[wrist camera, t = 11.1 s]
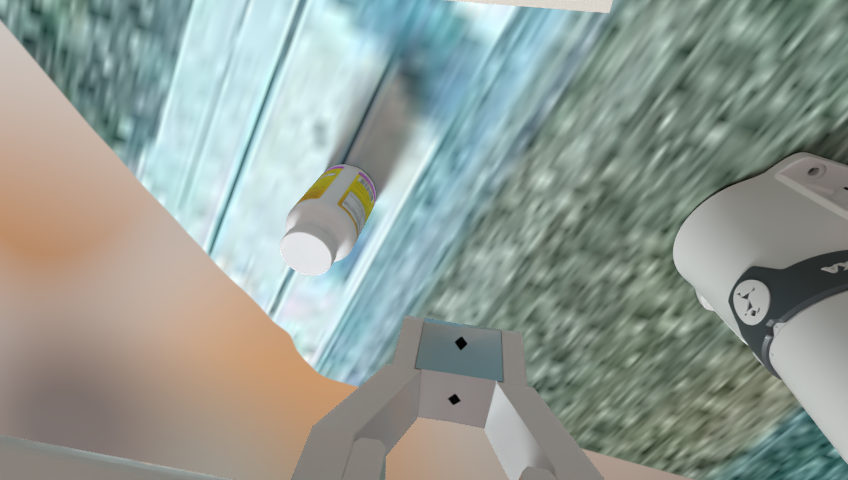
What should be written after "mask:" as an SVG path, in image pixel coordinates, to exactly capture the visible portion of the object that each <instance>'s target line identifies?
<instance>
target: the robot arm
mask: <svg viewBox="0 0 848 480" xmlns="http://www.w3.org/2000/svg"><path fill="white" fill-rule="evenodd" d="M812 168H813V170H812V171H811V172H809V173H808V171H809V170H810V169H812ZM673 258H674V263H675V266H676V268H677V270H678V271H679V273H680V274H681V275H682V276H683V277H684V278H685V279H686V280H687V281H688V282H689V283H690V284H691V285H692V286H693V287H694V288H695V290H696V294H697V297H698V300H699V302H700V303H701V304H702V305H703V306H704V307H705V308H706V309H708V310H712V311H715V312H716V313H717V314H718V315H719V316H720V317H721V318H722V319H723V320H724V321H725V322H726V324H727V325H728V326H729V327H730V328H731V329H732V330H733V331H734V332H735V333H736V334H737V335H738V336H739V337H740V339H741V340H742V341H743V342H744V343H746V344H747V345H749V347H750V348H751V349H752V351H753V354H754V356H755V357H756V358H757V359H758V360H759V361H760V363H762V364H763V365H764V366H765V367H766V368H767V369H768V371H769V372H771V373H772V374H773V375H774V376H775V377H777V378H778V379H780V380H782V381H784V383H785V384H786V385H787V386H788V388H789V389H790V390H791V392H792V393H793V394H794V396H795V397H796V398H797V400H798V401H799V402H800V403H801V405H802V406H803V407H804V409H805V410H806V411H807V413H808V414H809V415H810V416H811V418H812V419H813V420H814V422H815V423H816V424H817V426H818V427H819V428H820V429H821V431H822V432H823V433H824V435H825V436H826V437H827V438H828V440H829V441H830V442H831V444H832V445H833V446H834V448H835V449H836V450H837V452H838V453H839V454H840V456H841V457H842V458H843V459H844V461H845V462H846V463H847V464H848V165H845V164H842V163H839V162H836V161H832V160H829V159H826V158H823V157H820V156H817V155H813V154H810V153H806V152H800V153H796V154H793V155H791V156H789V157H787V158H785V159H784V160H782V161H781V162H779V163H778V164H776V165H775V166H773V167H772V168H770V169H769V170H768V171H766V172H765V173H763V174H761V175H759V176H756V177H754V178H751V179H748V180H745V181H742V182H740V183H737V184H735V185H732V186H730V187H728V188H726V189H724V190H722V191H720V192H718V193H717V194H715V195H713V196H712V197H710V198H709V199H707V200H706V201H705V202H703V203H702V204H701V205H700V206H699V207H697V208H696V209H695V210H694V211H693V212H692V213H691V214H690V216H689V217H688V218H687V219H686V220H685V222H684V223H683V225H682V226H681V228H680V230H679V232H678V234H677V236H676V239H675V242H674V247H673ZM417 417H421V418H428V419H435V420H442V421H451V422H455V423H460V424H465V425H470V426H475V427H480V428H485V429H484V431H485V433H486V435H487V437H488V439H489V441H490V443H491V445H492V447H493V449H494V450H495V453H496V455H497V457H498V458H499V460H500V463H501V465H502V467H503V468H504V470H505V472H506V474H507V476H508V478H509V480H604V478H603V476H602V475H601V474H600V473H599V471H598V470H597V469H596V467H595V466H594V465H593V464H592V462H591V461H590V460H589V458H588V457H587V456H586V455H585V453H584V452H583V451H582V449H581V448H580V447H579V446H578V444H577V443H576V442H575V440H574V439H573V438H572V437H571V435H570V434H569V433H568V431H567V430H566V429H565V428H564V426H563V425H562V424H561V422H560V421H559V420H558V419H557V417H556V416H555V415H554V413H553V412H552V411H551V410H550V408H549V407H548V406H547V404H546V403H545V402H544V401H543V399H542V398H541V397H540V395H539V394H538V393H537V392H536V390H535V389H534V388H532V387H527V378H526V368H525V359H524V349H523V340H522V334H521V333H520V332H517V331H509V330H502V329H501V330H500V329H495V328H487V327H480V326H473V325H465V324H457V323H451V322H445V321H439V320H434V319H428V318H420V317H414V316H408V315H406V316H405V318H404V320H403V324H402V327H401V331H400V335H399V339H398V343H397V347H396V351H395V355H394V358H393V362H392V365H387V364H386V365H385V366H384V367H382V368H381V369H380V370H379V371H378V372H376V373H375V374H374V375H373V376H372V377H371V378H369V379H368V380H367V381H366V382H365V383H363V384H362V385H361V386H360V387H359V388H357V389H356V390H355V391H354V392H353V393H352V394H350V395H349V396H348V397H347V398H346V399H345V400H343V401H342V402H341V403H340V404H339V405H337V406H336V407H335V408H334V409H333V410H331V411H330V412H329V413H328V414H327V415H326V416H324V417H323V418H322V419H321V420H320V421H319V422H317V423H316V424H315V425H314V426H313V427H312V429H311V432H310V434H309V437H308V439H307V441H306V444H305V446H304V449H303V451H302V454H301V456H300V459H299V461H298V464H297V466H296V468H295V471H294V473H293V476H292V478H291V480H385V472H386V471H385V469H386V456H387V454H388V453H389V452H390V451H391V449H392V448H393V447H394V445H396V443H397V442H398V441H399V440H400V439H401V437H402V436H403V435H404V434H405V433H406V431H407V430H408V429H409V428H410V427H411V425H412V424H413V423H414V422H415V420H416V419H417ZM0 480H236V479H231V478H225V477H220V476H215V475H209V474H204V473H199V472H194V471H188V470H183V469H178V468H172V467H167V466H162V465H156V464H151V463H146V462H141V461H135V460H130V459H125V458H120V457H114V456H109V455H104V454H98V453H93V452H88V451H82V450H77V449H72V448H67V447H61V446H56V445H51V444H45V443H40V442H35V441H30V440H25V439H19V438H14V437H9V436H3V435H0Z"/></svg>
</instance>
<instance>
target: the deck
mask: <svg viewBox="0 0 848 480" xmlns="http://www.w3.org/2000/svg"><path fill="white" fill-rule="evenodd" d="M451 1H463V2H476V3H489V4H501V5H514V6H527V7H539V8H552V9H565V10H578V11H590V12H603V13H609V12H610V8H611V5H612V1H613V0H451Z"/></svg>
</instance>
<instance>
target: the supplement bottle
mask: <svg viewBox="0 0 848 480" xmlns="http://www.w3.org/2000/svg"><path fill="white" fill-rule="evenodd" d="M375 201H376V190H375V186H374V184H373V182H372V180H371V179H370V177H369V176H368V175H367V174H366V173H365V172H364V171H362V170H361V169H359V168H357V167H354V166H351V165H346V164H340V165H335V166H332V167H330V168H329V169H327V170H326V171H325V172H324V173H323V174H322V175H321V176H320V177H319V178H318V180H317V181H316V182H315V183H314V184H313V185H312V187H311V188H310V189H309V190H308V191H307V192H306V193H305V195H304V196H303V197H302V198H301V199H300V200H299V202H298V203H297V204H296V205H295V206H294V207H293V208H292V210H291V211H290V213H289V214H288V216H287V219H286V235H285V236H284V237H283V239H282V241H281V244H280V251H281V255H282V257H283V259H284V261H285V262H286V263H287V264H288V265H289V266H290V267H291V268H292V269H294V270H295V271H297V272H299V273H302V274H305V275H320V274H323V273H325V272H326V271H327V270H328V269H329V268H330V267H331V265H332V263H333V262H336V261H339V260H341V259H343V258H344V257H346V256H347V255H348V254H349V253H350V252H351V250H352V248H353V247H354V245H355V243H356V241H357V239H358V237H359V235H360V233H361V231H362V229H363V227H364V225H365V223H366V221H367V219H368V217H369V215H370V213H371V211H372V209H373V207H374V204H375Z"/></svg>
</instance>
